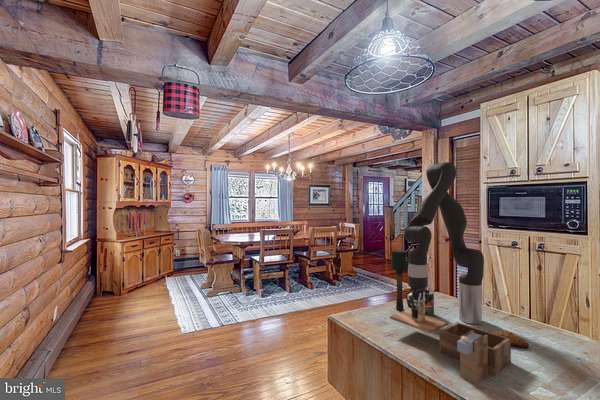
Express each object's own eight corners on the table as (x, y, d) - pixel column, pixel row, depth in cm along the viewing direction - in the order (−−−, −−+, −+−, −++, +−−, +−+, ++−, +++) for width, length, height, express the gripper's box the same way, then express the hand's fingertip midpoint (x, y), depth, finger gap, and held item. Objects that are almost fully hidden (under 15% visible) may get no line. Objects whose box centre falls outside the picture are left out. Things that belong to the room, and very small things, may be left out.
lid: (408, 311, 133) (408, 296, 133) (447, 325, 119) (447, 307, 119) (389, 318, 126) (389, 301, 126) (429, 333, 111) (429, 314, 111)
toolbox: (457, 342, 117) (457, 310, 117) (510, 362, 103) (510, 325, 103) (426, 360, 104) (425, 324, 104) (482, 386, 90) (481, 344, 90)
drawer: (472, 341, 98) (472, 328, 98) (482, 345, 95) (482, 331, 95) (457, 350, 92) (457, 337, 92) (467, 354, 90) (467, 340, 90)
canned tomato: (425, 310, 152) (424, 288, 152) (437, 315, 145) (437, 292, 145) (413, 312, 149) (412, 290, 149) (425, 318, 142) (425, 294, 142)
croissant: (485, 341, 119) (484, 328, 119) (488, 335, 124) (488, 323, 124) (527, 352, 109) (527, 338, 109) (530, 345, 114) (529, 332, 114)
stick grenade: (410, 313, 148) (409, 252, 148) (391, 312, 149) (391, 252, 150) (407, 307, 156) (406, 249, 156) (390, 306, 158) (389, 249, 158)
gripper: (419, 270, 130) (419, 310, 130) (399, 275, 121) (399, 318, 121) (435, 274, 124) (436, 315, 124) (416, 279, 115) (416, 324, 115)
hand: (417, 316), depth 122 cm, fingers closed on lid, 3 cm apart
